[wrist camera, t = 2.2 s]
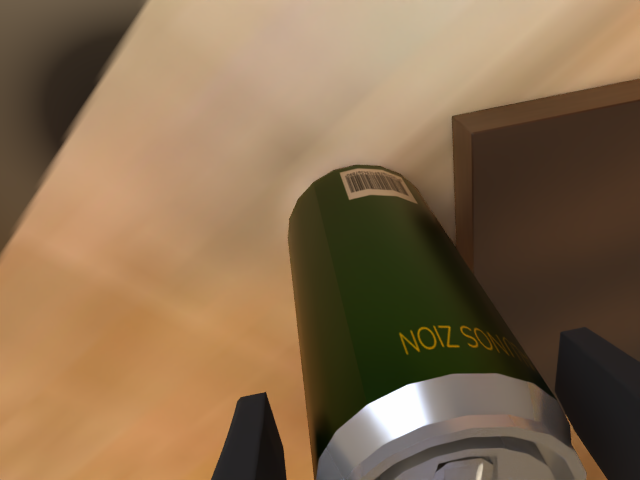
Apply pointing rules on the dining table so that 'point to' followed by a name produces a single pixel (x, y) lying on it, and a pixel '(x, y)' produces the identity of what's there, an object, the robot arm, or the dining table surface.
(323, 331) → the beer can
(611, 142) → the walnut board
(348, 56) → the dining table surface
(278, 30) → the dining table surface
